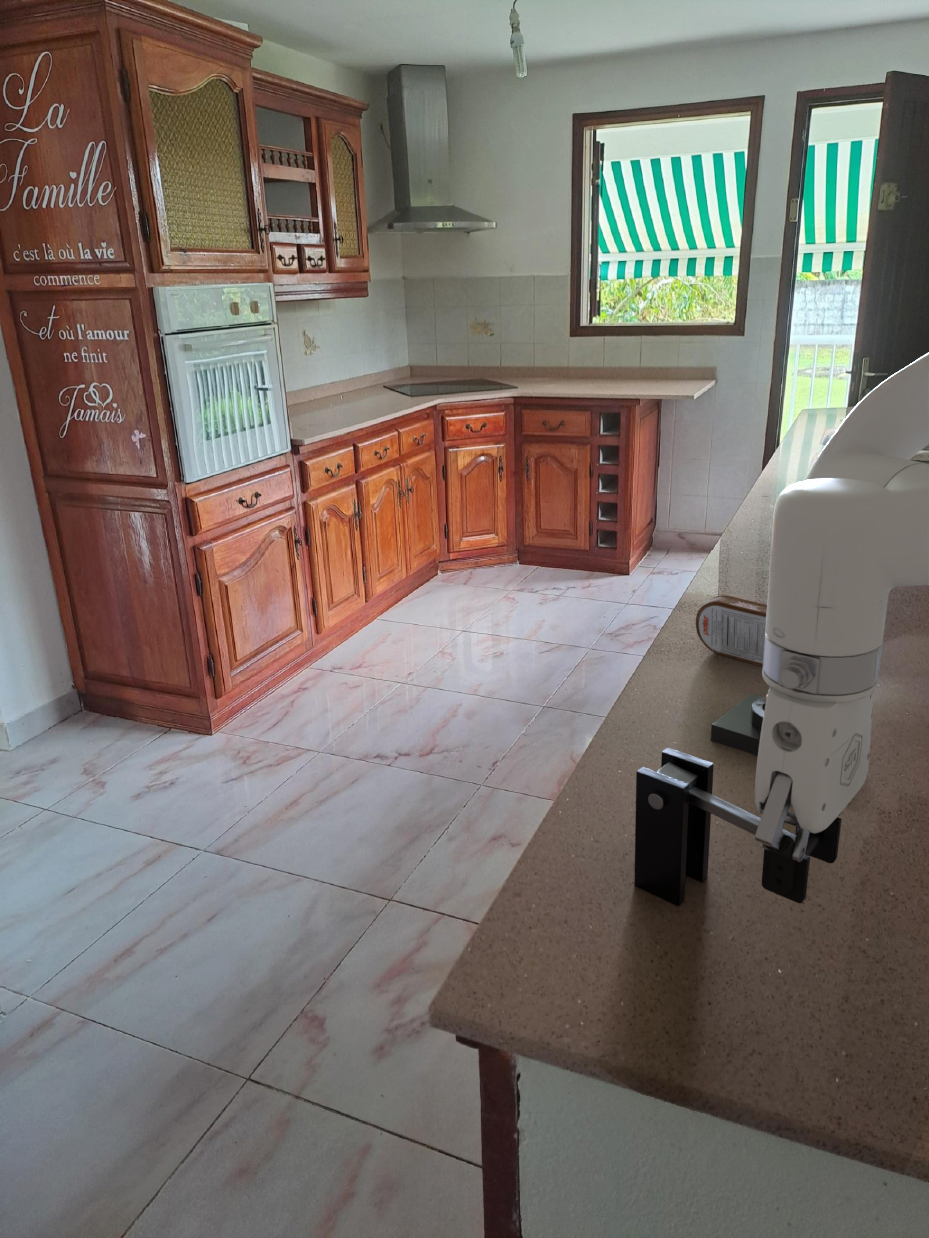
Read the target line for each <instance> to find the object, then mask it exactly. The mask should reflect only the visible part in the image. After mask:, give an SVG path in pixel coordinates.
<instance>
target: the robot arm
mask: <svg viewBox="0 0 929 1238" xmlns="http://www.w3.org/2000/svg"><path fill="white" fill-rule="evenodd" d="M928 446H929V352H927V353H925V354H924V355H922V356H920V357H919V358H917V359H916V360H915V361H913V362H912V363H910V364H908V365H906V366H905V367H904V368H901V369H900V370H899V371H897V372H895V373H894V374H892V375H890V376H889V377H888V378H887V379H885V380H884V381H882V382H881V383H879V384H878V385H877V386H876V387H874V388H873V389H872V390H871V391H870V392H868V393H867V394H866V395H865V396H864V397H863V398H862V399H861V400H860V401H859V402H858V403H857V404H856V405H855V406H854V407H853V408H852V409H851V411H850V412H849V413H848V415H847V416H846V418H844V419H843V421H842V422H841V424H840V425H839V427H838V428H837V429H836V430H835V432H834V433H833V434H832V436H831V437H830V439H828V441H827V443H826V444H825V445H824V447H823V448H822V450H821V451H820V453H818V456H817V458H816V459H815V461H814V462H813V464H812V465H811V468H810V469H809V471H808V473H807V475H806V477H805V479H804V480H802V481H798V482H796V483H792V484H790V485H788V486H787V487H786V488H784V489H783V490H782V491H781V492H780V493H779V495H778V496H777V499H775V500H776V501H775V504H774V507H773V516H772V529H771V541H770V554H769V555H770V556H769V571H768V572H769V573H768V583H767V585H768V587H767V598H766V600H767V601H766V604H767V612H766V626H765V640H764V654H763V667H762V669H761V677H762V679H763V680H764V682H765V684H767V685H768V686H769V687H768V690H767V694H768V695H767V694H766V695H767V700H766V705H765V711H764V716H763V722H762V729H761V735H760V743H759V750H758V756H757V759H756V769H755V782H754V804H755V808H756V810H757V812H758V813H759V814H760V815H761V816H760V818H761V820H760V822H759V825H758V828H757V831H756V834H755V835H754V839H755V841H757V842H758V843H760V844H761V845H762V846H761V847H762V849H763V860H762V871H761V872H762V873H761V886H762V888H763V889H764V890H766V891H768V892H771V893H773V894H776V895H778V896H780V897H782V898H785V899H787V900H789V901H792V902H795V903H796V904H802V903H803V902H804V901H805V900H806V898H807V892H808V880H809V873H810V872H809V871H810V863H811V857H812V858H814V859H817V860H819V861H821V862H825V863H827V864H834V863H835V862H836V860H837V859H838V852H839V845H840V835H841V827H842V818H841V817H840V816H841V815H842V813H843V811H844V810H845V808H846V807H847V806H848V805H849V804H850V802H852V800H853V798H854V797H855V796H856V795H857V793H858V792H859V791H860V790H861V788H862V787H863V786H864V784H865V783H866V780H867V777H868V773H869V764H870V754H871V753H870V751H871V738H872V726H873V725H872V724H873V723H872V721H873V703H874V701H873V700H874V699H873V696H874V692H875V691H876V690H877V688H878V683H879V682H878V681H879V676H880V675H879V674H880V667H881V658H882V651H883V643H884V642H883V641H884V635H885V627H886V620H887V619H886V618H887V612H888V603H889V594H890V592H891V590H893V589H895V588H897V587H898V588H899V587H914V586H915V587H916V586H929V463H927V462H921V461H916V460H911V459H912V458H913V457H915V456H916V455H917V454H918V453H919V452H921V451H922V450H924V449H925V448H927V447H928ZM790 807H792V809H793V811H792V810H790ZM785 823H786V824H788V825H791V826H793V827H795V833H794V834H795V835H796V838H795V841H794V840H793V839H792V838H791V837H790V836H788V835H785V834H784V833H783V832H782V829H784V824H785ZM821 831H823V833H824V838H823V839H822V841H821V842H820V843H819V844H818V845H817V846H816V848H815V849H814V850H813V851H812V852H811V854H810V855H809V856H807V855H805V852H806V847H807V842H808V838H809V833H810V832H811V833H819V832H821Z"/></svg>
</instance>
